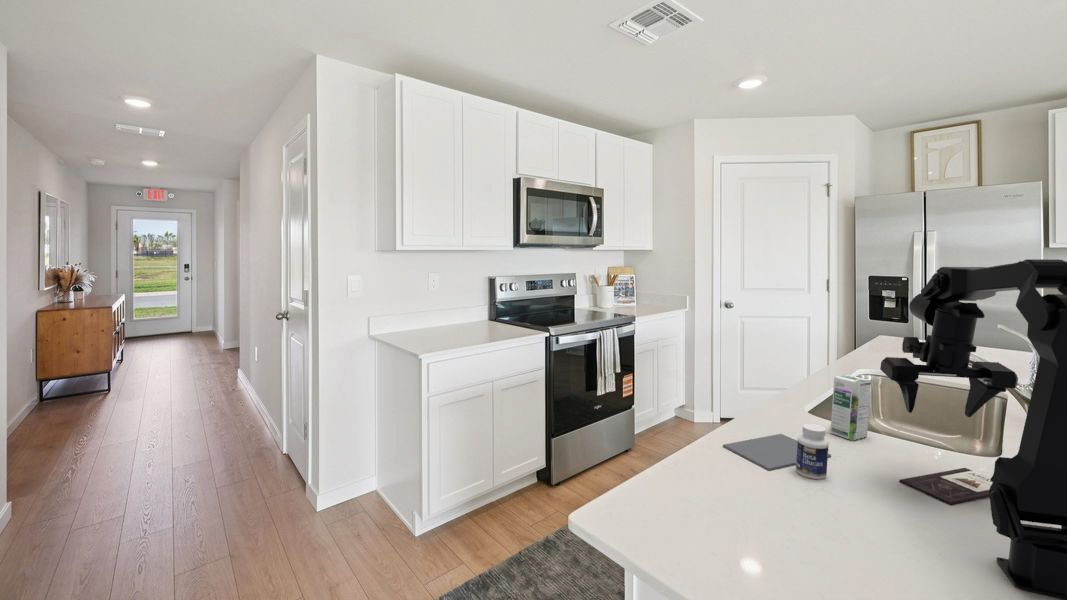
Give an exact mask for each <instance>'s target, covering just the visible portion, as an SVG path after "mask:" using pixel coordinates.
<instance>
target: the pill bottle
mask: <svg viewBox="0 0 1067 600" xmlns="http://www.w3.org/2000/svg"><path fill="white" fill-rule="evenodd" d="M801 431H802V434H800V435H798V438H797V441H798V445H797V460H796V465H795V471H796V472H797V473H798V474H799V475H801V476H803V477H805V478H809V479H813V480H814V479H815V480H823V479H826V477H827V474H828V473H827V472H828V454H829V448H830V447H829V444H830V443H829V441H828V439H826V438H825V437H826V428H825V427H823V426H821V425H819V424H814V423H804V424H803V425H802V429H801Z"/></svg>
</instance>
